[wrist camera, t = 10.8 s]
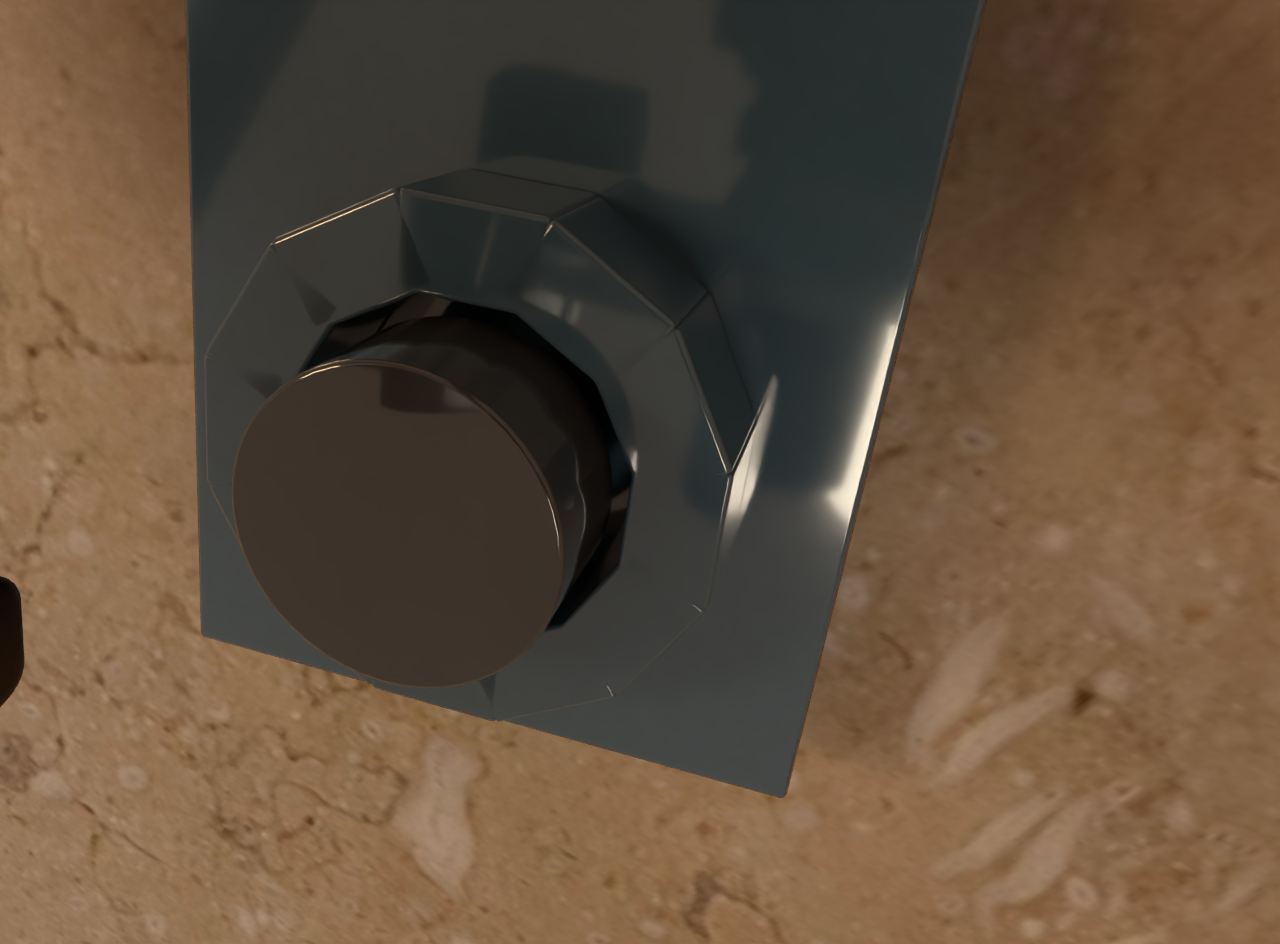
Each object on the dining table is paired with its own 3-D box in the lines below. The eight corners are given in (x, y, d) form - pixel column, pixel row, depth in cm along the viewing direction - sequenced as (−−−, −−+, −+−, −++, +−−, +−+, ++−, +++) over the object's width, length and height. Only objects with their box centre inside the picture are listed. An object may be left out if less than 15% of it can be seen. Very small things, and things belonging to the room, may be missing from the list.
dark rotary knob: (324, 285, 13) (226, 324, 11) (634, 352, 13) (585, 405, 11) (317, 566, 15) (230, 641, 13) (593, 639, 14) (542, 729, 12)
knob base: (267, -159, 15) (58, -223, 11) (994, -56, 13) (1019, -91, 10) (265, 583, 20) (118, 703, 16) (798, 726, 18) (767, 896, 15)
